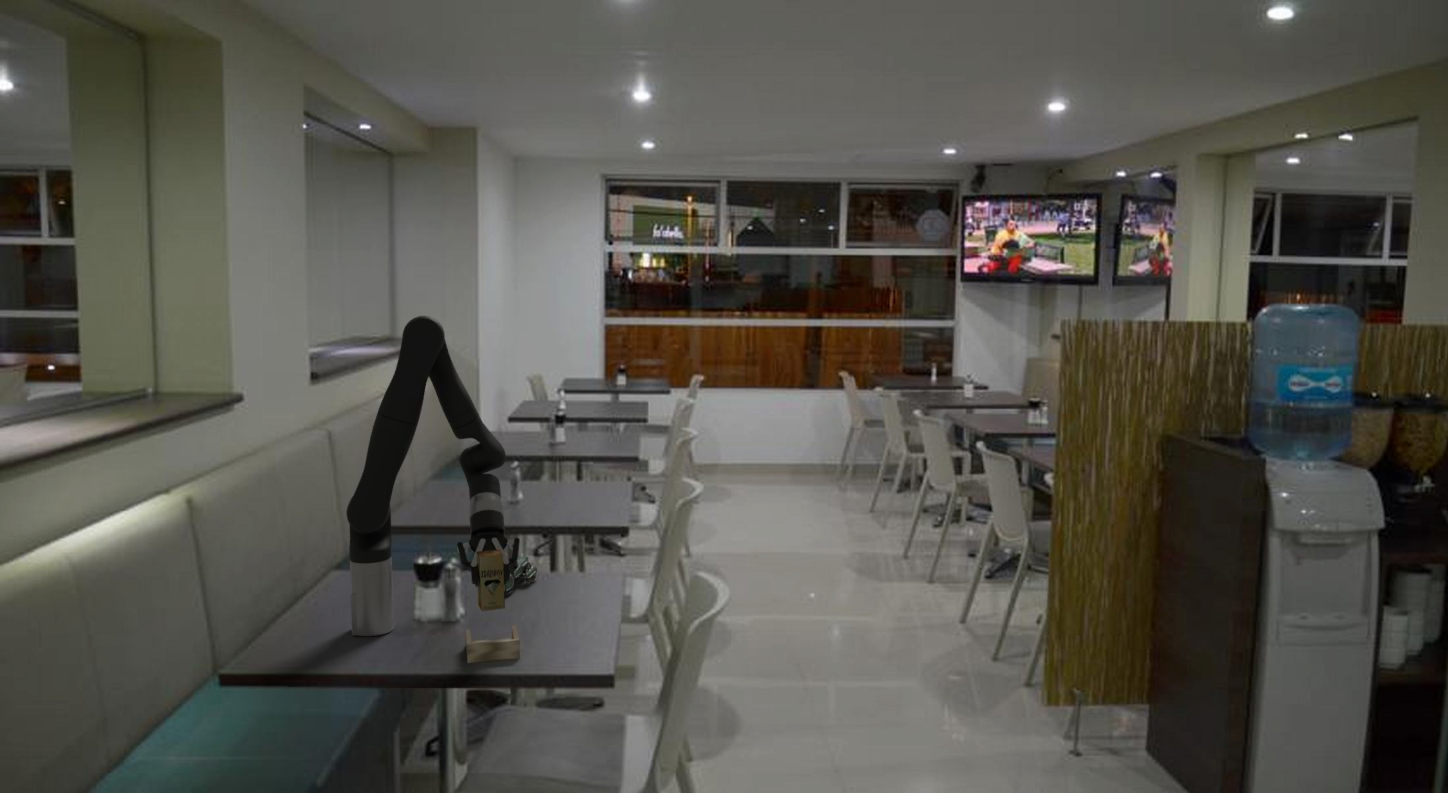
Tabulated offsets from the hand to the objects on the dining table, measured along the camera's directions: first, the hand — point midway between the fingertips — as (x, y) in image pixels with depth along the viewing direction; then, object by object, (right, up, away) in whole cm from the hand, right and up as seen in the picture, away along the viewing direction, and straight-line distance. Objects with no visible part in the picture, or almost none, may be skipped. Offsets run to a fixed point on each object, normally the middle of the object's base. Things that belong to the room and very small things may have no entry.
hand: (491, 583), depth 230 cm
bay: (0, -16, +3) cm, 16 cm away
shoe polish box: (0, -6, +2) cm, 6 cm away
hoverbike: (-6, -11, +51) cm, 52 cm away
